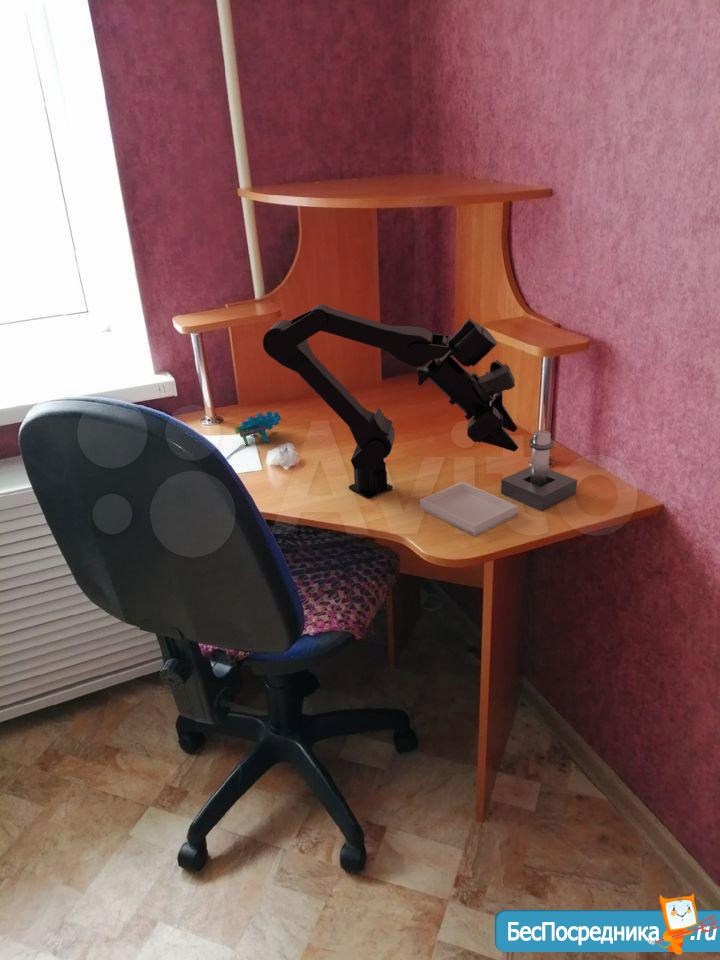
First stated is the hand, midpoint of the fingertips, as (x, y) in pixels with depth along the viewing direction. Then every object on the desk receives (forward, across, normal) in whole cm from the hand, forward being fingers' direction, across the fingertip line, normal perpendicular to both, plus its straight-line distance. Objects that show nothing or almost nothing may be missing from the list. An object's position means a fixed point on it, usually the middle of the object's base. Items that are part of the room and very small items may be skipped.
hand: (516, 439), depth 140 cm
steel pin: (+11, 0, +5) cm, 12 cm away
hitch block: (+11, 0, +5) cm, 12 cm away
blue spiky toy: (-33, +24, +49) cm, 64 cm away
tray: (+2, -8, +14) cm, 16 cm away
